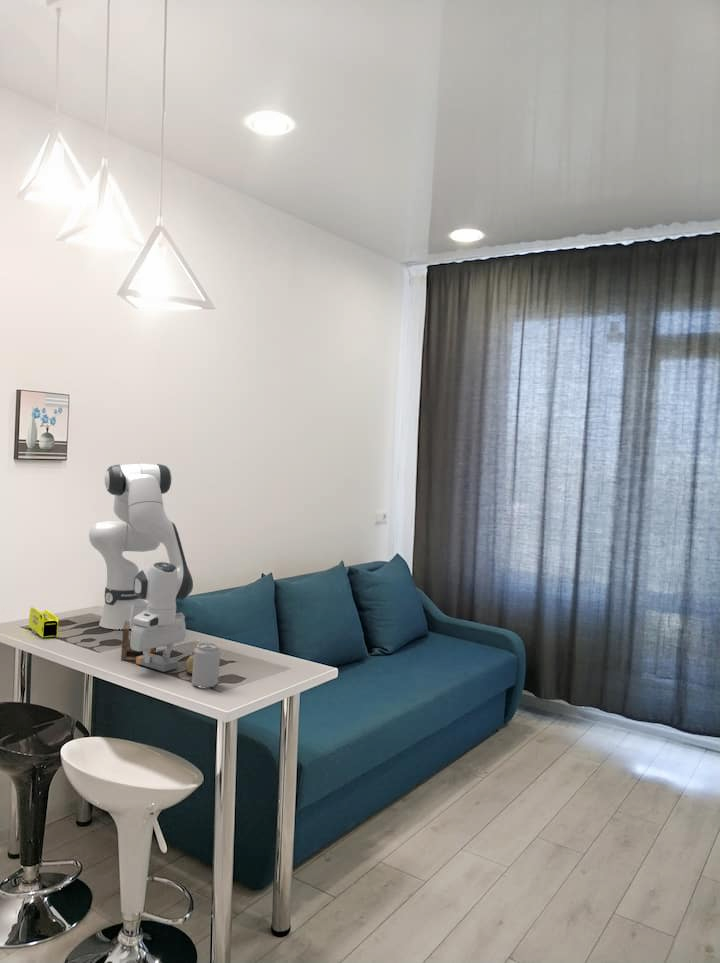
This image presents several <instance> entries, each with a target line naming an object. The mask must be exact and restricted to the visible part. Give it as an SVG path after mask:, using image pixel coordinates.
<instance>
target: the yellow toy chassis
mask: <svg viewBox="0 0 720 963" xmlns="http://www.w3.org/2000/svg"><path fill="white" fill-rule="evenodd" d="M28 627H29V628H30V629H31V632H32V633H34V634H35V635H37V634H38V635H39V636H40V638H47V639H48V637H49V638H55V637H58V633H59V632H58V631H59V618H58V617H57V616H56V614H53V613H52V612H51V611H49V610H48V609H45V610H44V611H39V610H38V609H37V608H35V607H34V606H31V607H30V609H29V620H28Z"/></svg>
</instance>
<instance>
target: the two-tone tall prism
mask: <svg viewBox="0 0 720 963" xmlns="http://www.w3.org/2000/svg"><path fill="white" fill-rule="evenodd" d="M149 654H150V656H151V657H153V658H152V662H151V663H145V656H144V654H142V655H139V656H135V657H136V660H135V664H137V665H140V666H144V667H147V668H150V669H154V670H157V671H160V672H163V673H164V672H168V671H171V670H175V669H178V668H179V663H180V662H179V661H178V660H175V659H171V658H165V657H163V655H162V656H161V655H158V654H155V653H149Z"/></svg>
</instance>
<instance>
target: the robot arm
mask: <svg viewBox="0 0 720 963" xmlns="http://www.w3.org/2000/svg"><path fill="white" fill-rule="evenodd" d="M172 480H173V478H172V474H171V470H170V469H169V467H168V466H167V465H164V464H160V463H156V464H152V463H140V462H139V463H131V464H130V463H129V464H128V463H127V464H121V465H120V464H114V465H110V466H109V467H108V468H107V470H106V472H105V475H104V485H105V488H106V491H107V493H109V494H110V495H113V496H114V500H113V501H114V502H113V512H114V514H115V515H116V517H117V518H118V519H119V521H118V520H117V521H116V520H115V521H114V520H106V521H105V520H104V521H99V522H96V523H94V524H93V525H92V527H90V530H89V534H88V539H89V542H90V545H91V546H92V547H93V548H94V549H95V550H97V551H98V552H99V553H100V555H101V556H102V557H103V560H104V561H105V565H106V586H105V588H104V605H103V608H102V609H103V610H102V614H101V618H100V621H99V624H98V626H99V627H101V628H104V629H110V630H119V629H120V630H122V629H123V628H124V624H125V621H130V627H129V629H131V630H130V631H131V633H130V637H129V638H130V647H131V649H132V650H135V651H138V652H137V653H139V652H140V651H142V652H143V653H142V655H144V656H145V663H151V662H152V658H153V657H151V656H150V653H149V652H151V649H152V648H156V649H157V648H160V647H165V650H164V651H163V652H162V657H165V658H169V659H171V657H170V656H171V652H172V650H173V649H174V645H175V644H176V643H177V644H178V643H181V642H184V641H185V639H186V635H187V634H186V632H187V630H186V629H187V628H186V621H185V618H186V616H185V614H184V613H183V612H181V611H180V612H177V603H176V601H183V600H184V599H187V597H189V595H190V594H191V592H192V591H193V587H194V582H193V581H194V580H193V577H192V574H191V571H190V569H189V567H188V564H187V561H186V557H185V554H184V549H183V546H182V542H181V538H180V535H179V532H178V529H177V526H176V524H175V523H174V522H172V521H171V520H170V518H169V517H168V516H167V514H166V512H165V508H164V501H163V495H164V494H166V493H168V491H169V490H170V488H171V486H172ZM120 520H121V521H120ZM161 544H163V545H164V547H165V549H166V553H167V556H168V560H169V562H165V561H160V562H159V561H158V562H155V563H153V564H152V565H151V567H150V568H148V569H144V570H143V569H142V570H139V567H138V565H137V564H136V563H135V562H133V561H131V560H129V559H127V558H125V557H124V556H123V552H134V553H135V552H139V553H146V552H150V551H156V550H157V549H158V548H159V546H160V545H161ZM146 601H147V602H146ZM122 631H123V630H122Z"/></svg>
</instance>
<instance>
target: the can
mask: <svg viewBox="0 0 720 963" xmlns="http://www.w3.org/2000/svg"><path fill="white" fill-rule="evenodd" d="M193 651H194V660H193V672H192V674H191V675H192V676H191V683H192V684H194V685H195V686H201V687H209V686H214V685H215V686H217V685H218V683H219V673H220V662H221V649H219V645H218V644H217V643H214V642H213V643H212V642H201V643H198V644H197V645H196V648H194V649H193ZM216 684H217V685H216ZM194 685H193V686H194ZM195 686H194V687H195ZM215 686H214V687H215Z"/></svg>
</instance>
